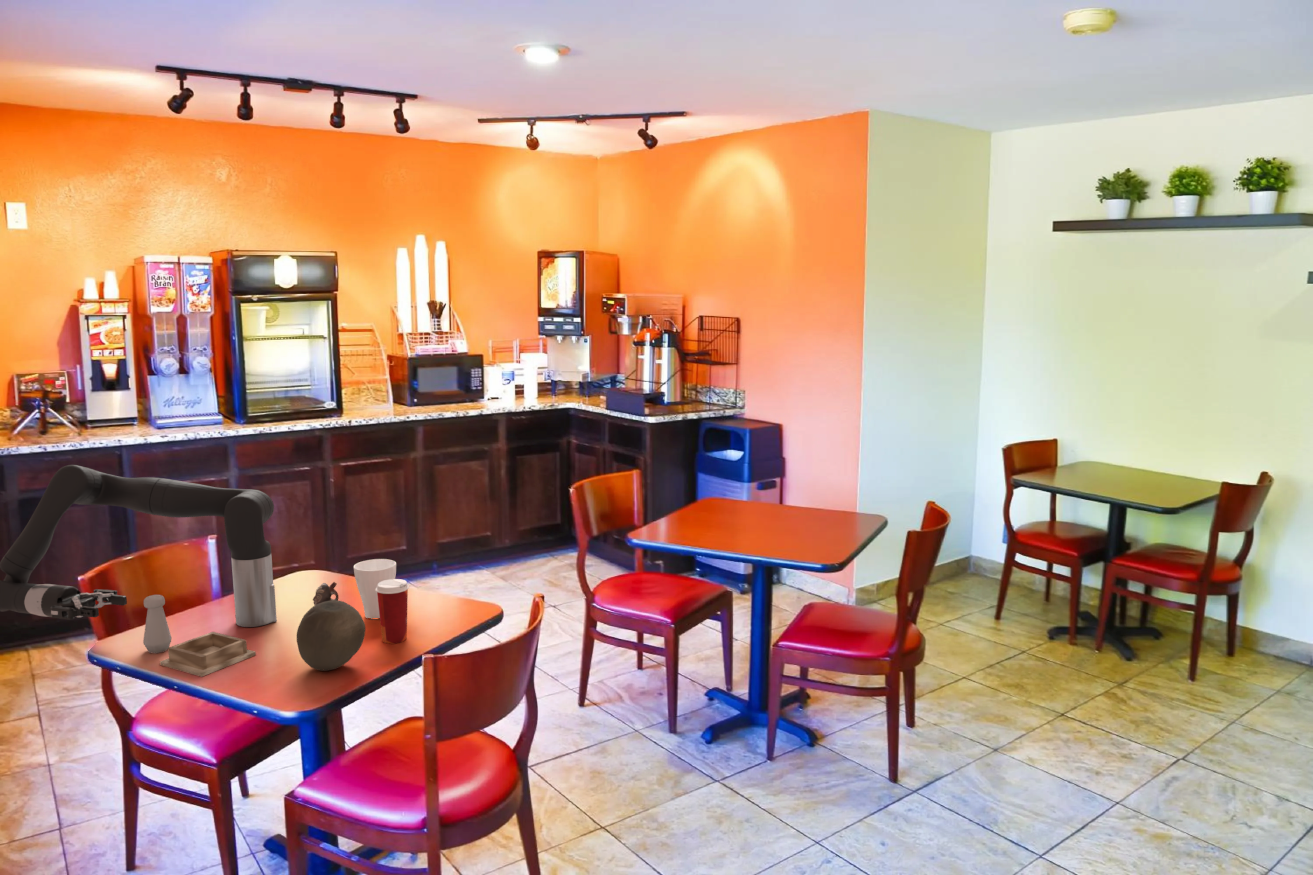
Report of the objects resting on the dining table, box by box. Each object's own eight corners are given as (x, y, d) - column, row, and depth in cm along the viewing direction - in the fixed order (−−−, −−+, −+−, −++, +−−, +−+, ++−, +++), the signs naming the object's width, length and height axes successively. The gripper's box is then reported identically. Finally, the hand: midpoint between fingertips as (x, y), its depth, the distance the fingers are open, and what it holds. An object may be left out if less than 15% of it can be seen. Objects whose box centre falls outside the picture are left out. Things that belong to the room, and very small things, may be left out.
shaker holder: (215, 644, 223) (213, 628, 222) (255, 654, 216) (254, 639, 216) (160, 664, 211) (158, 648, 210) (201, 676, 204) (200, 660, 204)
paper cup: (417, 636, 228) (415, 580, 226) (396, 647, 221) (394, 589, 219) (392, 631, 231) (389, 576, 229) (370, 642, 224) (367, 585, 222)
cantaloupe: (306, 686, 199) (302, 618, 197) (292, 663, 211) (288, 599, 209) (373, 671, 207) (370, 606, 204) (356, 651, 219) (353, 588, 216)
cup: (407, 613, 244) (404, 562, 242) (375, 625, 235) (372, 573, 233) (379, 606, 250) (376, 556, 248) (347, 617, 241) (344, 566, 239)
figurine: (311, 627, 234) (308, 580, 232) (341, 623, 237) (339, 577, 235) (313, 637, 228) (310, 589, 226) (344, 632, 230) (341, 585, 228)
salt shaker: (160, 655, 216) (155, 601, 214) (138, 653, 217) (133, 599, 215) (177, 646, 222) (173, 593, 220) (156, 644, 223) (151, 591, 221)
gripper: (25, 594, 216) (86, 600, 213) (75, 576, 230) (133, 581, 226) (28, 626, 217) (89, 632, 214) (78, 606, 231) (135, 611, 228)
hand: (111, 606), depth 220 cm, fingers open, 8 cm apart
